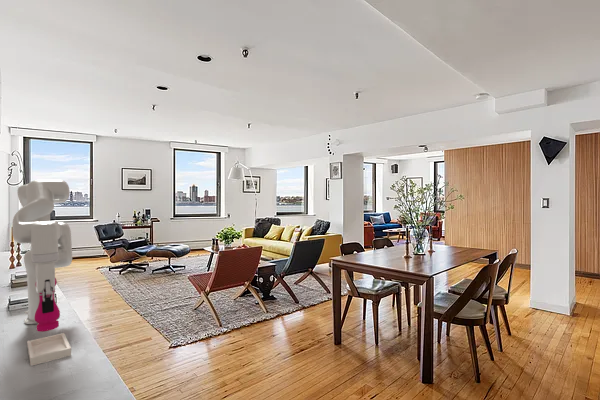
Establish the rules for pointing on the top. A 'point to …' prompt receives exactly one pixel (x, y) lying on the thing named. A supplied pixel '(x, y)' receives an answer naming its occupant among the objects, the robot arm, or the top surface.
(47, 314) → the pepper mill
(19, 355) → the top surface
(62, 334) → the tray
